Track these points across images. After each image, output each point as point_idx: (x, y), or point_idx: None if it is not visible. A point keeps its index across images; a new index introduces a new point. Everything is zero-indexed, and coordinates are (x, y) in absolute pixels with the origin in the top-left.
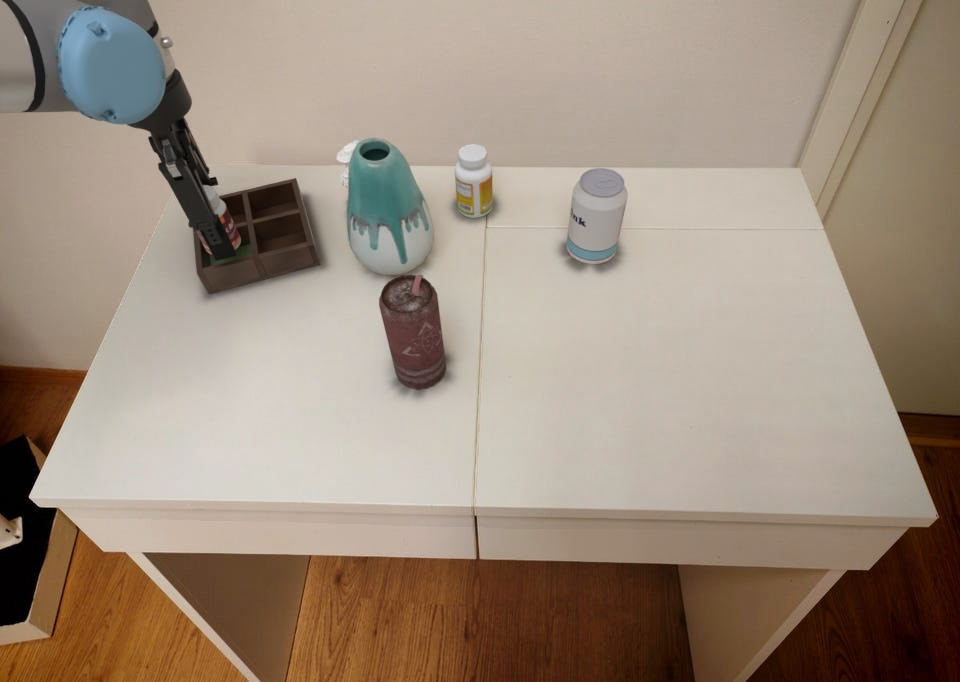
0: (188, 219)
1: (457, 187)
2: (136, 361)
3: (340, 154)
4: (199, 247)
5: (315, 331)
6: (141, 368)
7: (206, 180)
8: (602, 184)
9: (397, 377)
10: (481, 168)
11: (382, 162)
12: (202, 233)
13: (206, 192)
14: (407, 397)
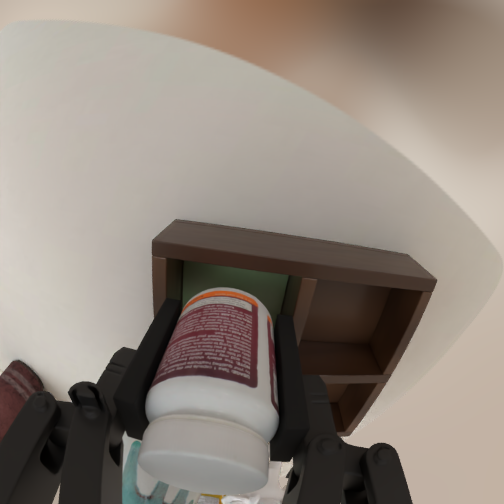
0: (9, 428)
1: (203, 499)
2: (79, 76)
3: None
4: (254, 268)
5: (63, 335)
6: (64, 87)
7: (287, 490)
8: None
9: (16, 362)
10: None
11: None
12: (131, 365)
13: (206, 486)
14: (9, 354)
